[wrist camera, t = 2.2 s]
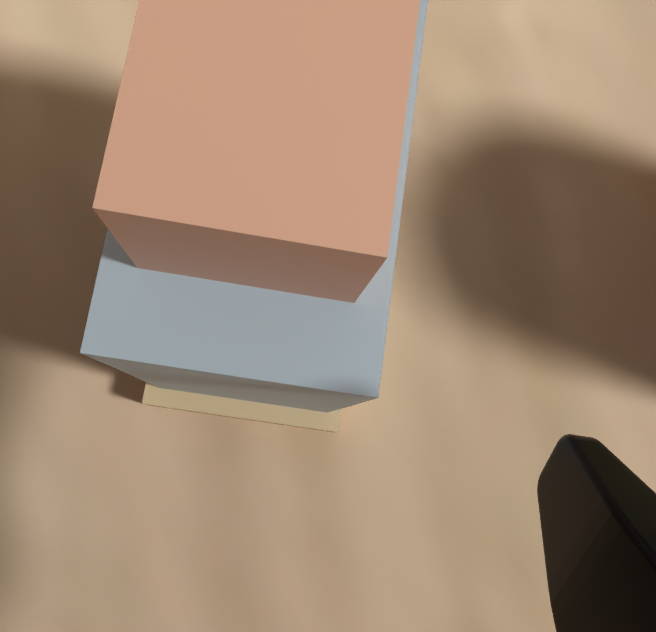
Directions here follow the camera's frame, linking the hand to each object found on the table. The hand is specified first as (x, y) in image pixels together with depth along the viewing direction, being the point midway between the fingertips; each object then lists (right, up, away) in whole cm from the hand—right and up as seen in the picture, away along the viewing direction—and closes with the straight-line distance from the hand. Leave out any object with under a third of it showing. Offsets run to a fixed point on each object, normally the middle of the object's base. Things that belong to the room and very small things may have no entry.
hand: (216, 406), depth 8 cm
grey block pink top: (-1, +2, +12) cm, 12 cm away
